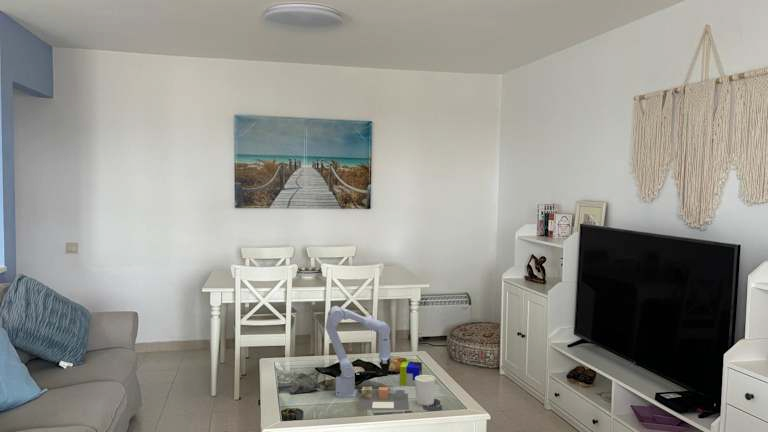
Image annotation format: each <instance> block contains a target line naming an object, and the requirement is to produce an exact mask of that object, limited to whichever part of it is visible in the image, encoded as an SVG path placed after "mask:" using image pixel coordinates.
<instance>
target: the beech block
mask: <svg viewBox="0 0 768 432" xmlns="http://www.w3.org/2000/svg"><path fill="white" fill-rule="evenodd" d="M361 391H362V392H361V393H362V399H372V393H373V387H372V386H362V390H361Z"/></svg>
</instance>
